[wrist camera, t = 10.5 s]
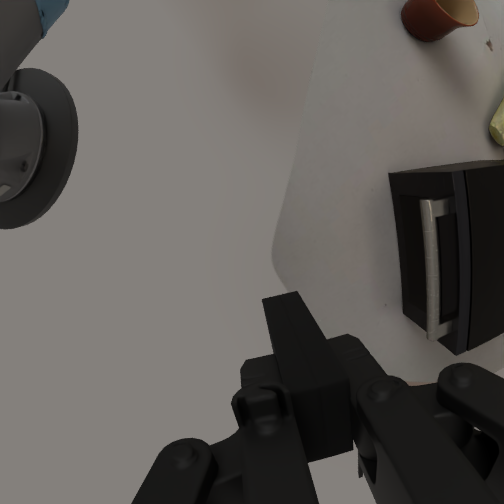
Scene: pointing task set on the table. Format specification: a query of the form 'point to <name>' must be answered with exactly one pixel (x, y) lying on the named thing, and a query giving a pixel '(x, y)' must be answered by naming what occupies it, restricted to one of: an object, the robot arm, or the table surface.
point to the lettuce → (498, 125)
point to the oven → (484, 246)
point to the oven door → (434, 252)
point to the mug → (438, 17)
